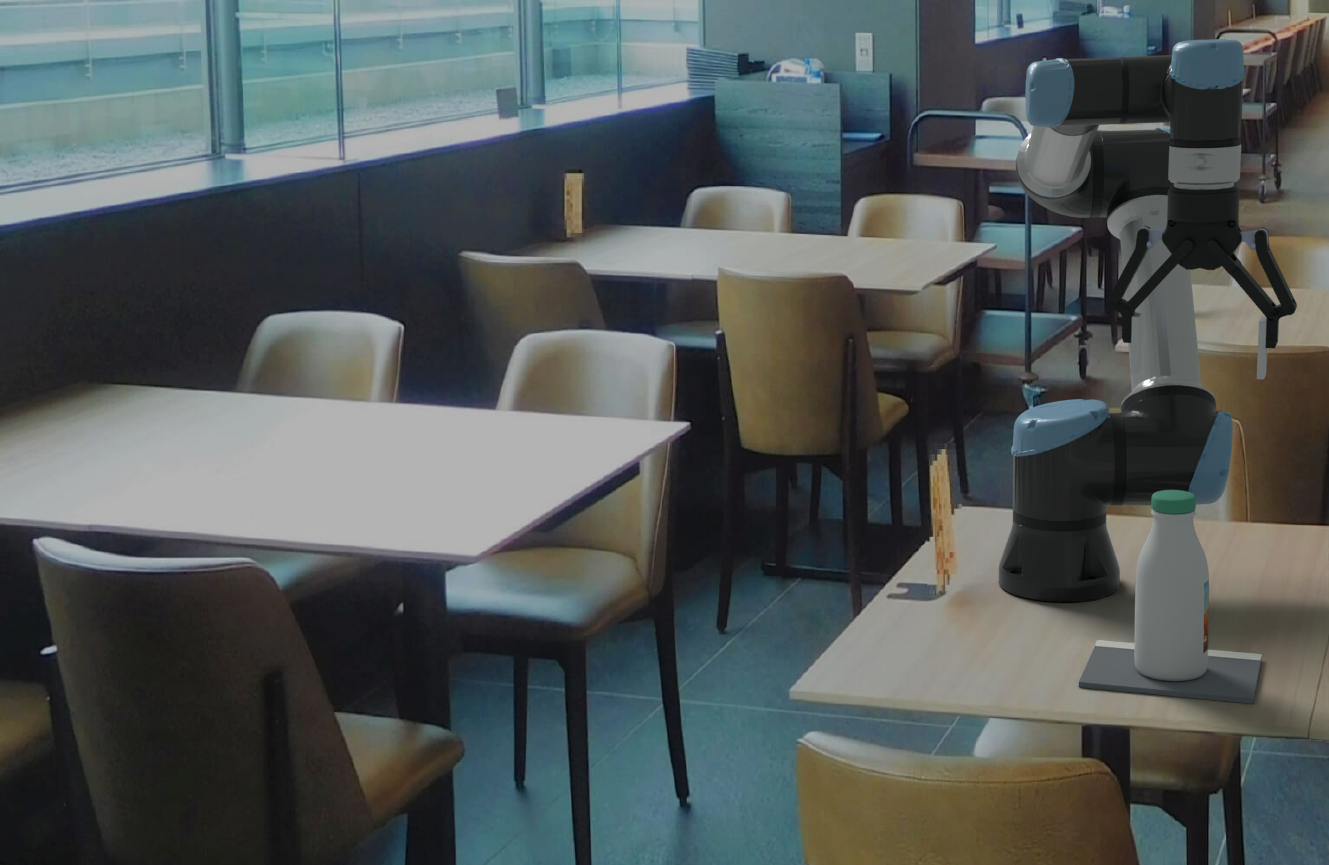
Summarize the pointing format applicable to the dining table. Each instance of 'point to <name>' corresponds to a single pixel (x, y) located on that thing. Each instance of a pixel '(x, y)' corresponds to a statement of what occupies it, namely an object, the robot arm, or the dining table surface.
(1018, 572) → the robot arm
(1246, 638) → the dining table surface
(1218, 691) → the mat
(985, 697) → the dining table surface
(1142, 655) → the milk bottle
